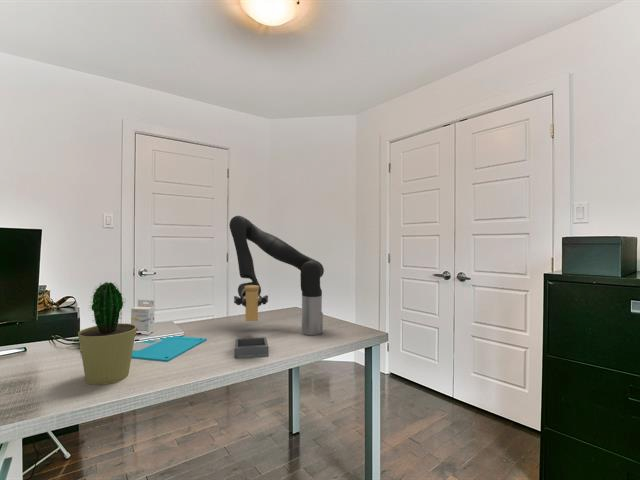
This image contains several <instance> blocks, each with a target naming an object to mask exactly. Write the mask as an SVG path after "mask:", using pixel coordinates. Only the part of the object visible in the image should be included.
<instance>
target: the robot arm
mask: <svg viewBox="0 0 640 480" xmlns="http://www.w3.org/2000/svg"><path fill="white" fill-rule="evenodd" d="M229 229H230V234H231V237H232V240H233V243H234V247H235V252H236V256H237V257H236V258H237V264H238V265H237V266H238V271H239V276H240V278H242V279H249V280H251V281H249V282H244V283H240V284H239V285H238V287H237V293H238V296H236V295H235V296H233V303H234V304H235V305H237V306H243V307H244V308H246V291H245V286H247V285H258V286H259V291H258V307H260V306H262V305H266V304H267V303H268V302H269V295H264V296H263V297H262V295H261V293H262V288H261V285H260V282H259V281H258V279H257V276H256V272H255V265H254V259H253V256H252V252H251V250H250V247H249V243H248V241H250V242H252V243H254V244H255V245H257V247H258V248H259V249H260V250H262V252H264V253H266V254H267V255H268V256H270V257H272V258H273V259H275V260H276V261H279V262H282V263H284V264H287V265H289V266H293V267H294V268H296V269H298V270H299V271H300V291H301V334H303V335H306V336H317V335H321V334H323V332H324V331H323V330H324V329H323V327H324V326H323V325H324V323H323V322H324V319H323V318H324V315H323V314H324V313H323V311H322V310H323V309H322V307H323V305H322V304H323V300H322V299H323V290H322V288H321V278H322V277H323V276H324V272H325V269H324V266H323V264H322V263H321V262H320V261H318V260H316V259H314V258H312V257H310V256H308V255H305V254H303V253H302V252H300V251H299V250H297V249H296V248H294V246H291V245H290V244H289V243H287V242H285V241H284V240H282V239H281V238H279V237H277V236H275V235H273V234H271V233H268V232H266V231H264V230H262V229H261V228H258V226H256V225H255V224H253V223H252V222H251V221H250V220H249V219H247V217H244V216H241V215H235V216H233V217H232V218H231V219H230V221H229Z"/></svg>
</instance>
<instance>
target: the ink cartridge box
mask: <svg viewBox="0 0 640 480" xmlns="http://www.w3.org/2000/svg"><path fill="white" fill-rule="evenodd" d="M155 310H156V309H155V300H153V299H137V306H135V307H131V308H130V313H131V314H130V315H131V316H130V324H134V325H136V326H137V328H136V331H147V332H149V331H151V330H153V329H154V330H155Z"/></svg>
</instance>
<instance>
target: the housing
mask: <svg viewBox="0 0 640 480" xmlns="http://www.w3.org/2000/svg"><path fill="white" fill-rule="evenodd" d="M234 341H235V345H234V346H235V347H234V359H242V358H257V357H269V353H270V351H269V349H270V348H269V343H268V340H267V336H262V337H261V336H260V337H259V336H258V337H247V338H246V337H245V338H241V337H240V338H235V340H234Z"/></svg>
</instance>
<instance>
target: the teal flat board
mask: <svg viewBox="0 0 640 480" xmlns="http://www.w3.org/2000/svg"><path fill="white" fill-rule="evenodd" d="M172 336H173V337H166V338H160V339H154V340H148V341H144V342H136V343H134V345H133V351H132V357H131V359H135V360H136V359H137V360H146V361H156V362H170V361H172V360H174V359H176V358H177V357H179V356H181V355H183V354H184V353H186V352H188V351H190V350H192V349H194V348H195V347H197V346H199V345H200V344H202V343H204V342H207V341H208V338H206V337H194V336H193V337H192V336H180V335H179V336H178V335H172Z"/></svg>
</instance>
